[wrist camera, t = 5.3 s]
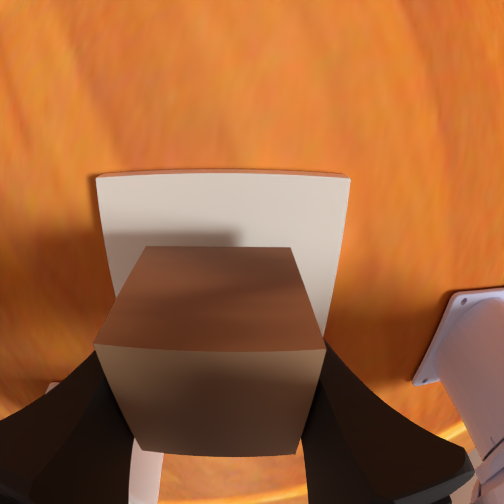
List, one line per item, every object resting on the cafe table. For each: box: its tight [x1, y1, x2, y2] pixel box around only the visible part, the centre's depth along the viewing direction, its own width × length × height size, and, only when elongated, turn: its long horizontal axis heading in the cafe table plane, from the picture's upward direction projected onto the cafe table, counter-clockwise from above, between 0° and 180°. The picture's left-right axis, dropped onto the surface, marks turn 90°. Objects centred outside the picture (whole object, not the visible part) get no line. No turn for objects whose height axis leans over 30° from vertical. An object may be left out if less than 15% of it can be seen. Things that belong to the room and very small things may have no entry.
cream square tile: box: [96, 169, 351, 337], centre depth 14 cm, size 10×10×1 cm
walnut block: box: [93, 246, 326, 457], centre depth 9 cm, size 5×5×5 cm
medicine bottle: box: [45, 382, 164, 504], centre depth 13 cm, size 7×7×12 cm
